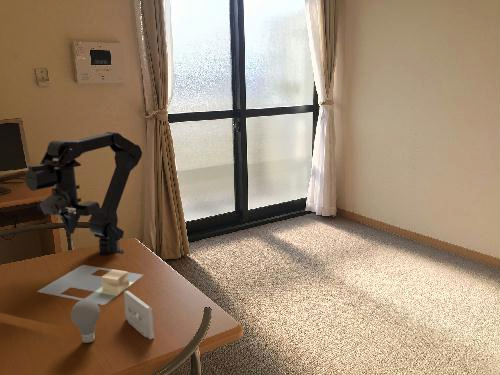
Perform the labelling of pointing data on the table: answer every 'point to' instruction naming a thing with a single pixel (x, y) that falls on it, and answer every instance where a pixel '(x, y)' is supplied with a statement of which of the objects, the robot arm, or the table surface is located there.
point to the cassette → (139, 315)
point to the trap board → (85, 284)
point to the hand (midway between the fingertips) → (71, 233)
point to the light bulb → (85, 318)
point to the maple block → (115, 281)
